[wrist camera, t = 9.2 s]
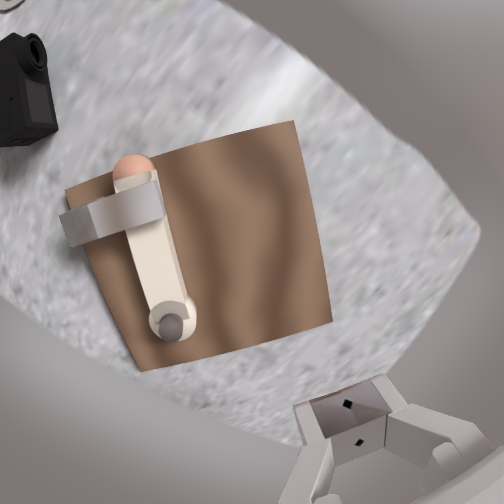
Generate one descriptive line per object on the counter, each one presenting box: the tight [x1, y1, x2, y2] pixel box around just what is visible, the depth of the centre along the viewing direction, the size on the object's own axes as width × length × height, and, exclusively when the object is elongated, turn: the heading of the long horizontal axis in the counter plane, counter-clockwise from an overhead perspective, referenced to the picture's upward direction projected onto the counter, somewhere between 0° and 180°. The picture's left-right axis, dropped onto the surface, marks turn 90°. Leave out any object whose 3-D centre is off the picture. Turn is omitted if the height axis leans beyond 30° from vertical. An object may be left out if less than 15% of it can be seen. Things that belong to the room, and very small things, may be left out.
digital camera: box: [0, 33, 58, 148], centre depth 21 cm, size 10×5×7 cm, turn 14°
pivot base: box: [59, 120, 333, 372], centre depth 29 cm, size 23×22×6 cm
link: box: [112, 155, 197, 342], centre depth 28 cm, size 18×5×2 cm, turn 10°
